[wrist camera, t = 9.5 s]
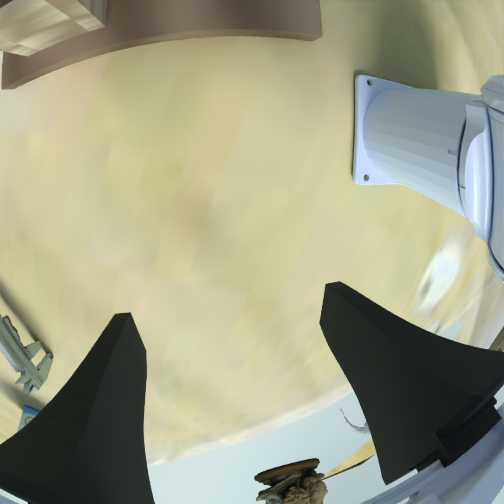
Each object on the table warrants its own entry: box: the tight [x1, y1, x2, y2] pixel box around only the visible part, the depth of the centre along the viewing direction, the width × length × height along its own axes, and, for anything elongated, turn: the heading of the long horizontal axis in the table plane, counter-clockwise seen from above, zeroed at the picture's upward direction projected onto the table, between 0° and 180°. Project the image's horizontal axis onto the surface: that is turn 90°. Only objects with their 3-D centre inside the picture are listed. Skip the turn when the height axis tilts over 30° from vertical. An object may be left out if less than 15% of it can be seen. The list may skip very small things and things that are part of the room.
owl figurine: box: [254, 458, 328, 504], centre depth 44 cm, size 18×12×17 cm, turn 98°
